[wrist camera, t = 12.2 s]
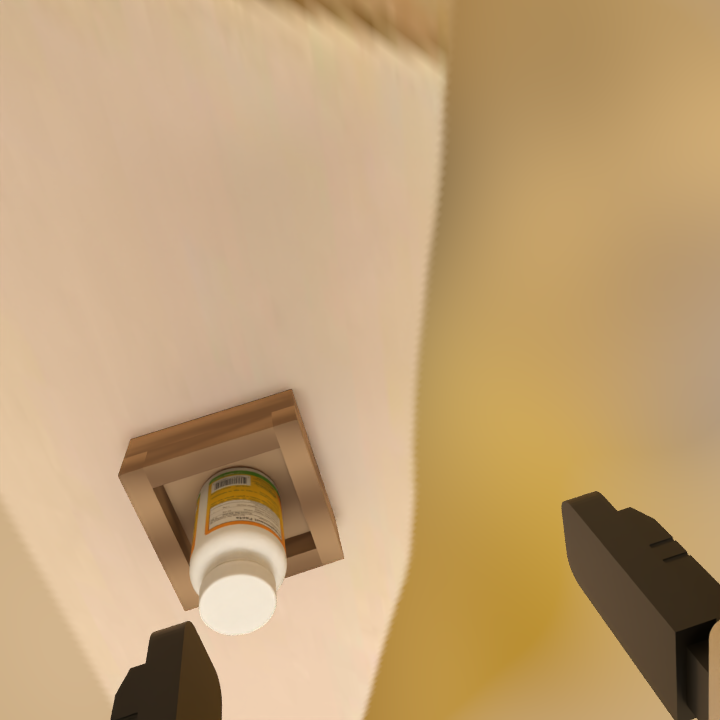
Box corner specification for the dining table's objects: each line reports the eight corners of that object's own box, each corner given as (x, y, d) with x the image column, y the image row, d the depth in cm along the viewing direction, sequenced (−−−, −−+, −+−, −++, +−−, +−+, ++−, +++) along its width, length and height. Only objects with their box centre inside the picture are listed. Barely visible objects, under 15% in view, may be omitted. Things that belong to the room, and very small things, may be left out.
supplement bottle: (246, 547, 42) (247, 662, 33) (180, 509, 40) (162, 619, 31) (296, 491, 41) (311, 594, 33) (231, 450, 40) (227, 546, 31)
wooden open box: (130, 439, 41) (117, 475, 37) (291, 389, 41) (296, 419, 37) (190, 566, 45) (184, 611, 41) (335, 518, 46) (344, 558, 42)
